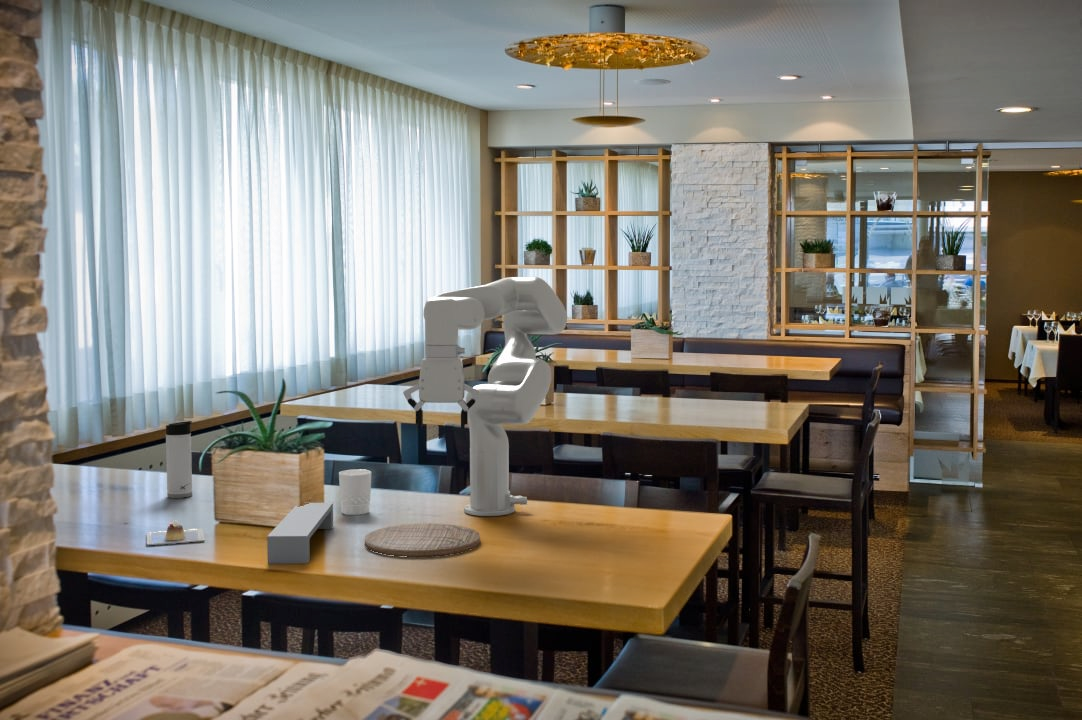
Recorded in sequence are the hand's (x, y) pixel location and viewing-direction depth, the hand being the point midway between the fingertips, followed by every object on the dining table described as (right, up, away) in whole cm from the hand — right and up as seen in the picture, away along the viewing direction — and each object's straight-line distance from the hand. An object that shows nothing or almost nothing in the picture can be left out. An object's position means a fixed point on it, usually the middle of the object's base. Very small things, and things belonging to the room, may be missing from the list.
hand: (441, 427), depth 251 cm
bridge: (-29, -25, -11) cm, 40 cm away
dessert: (-59, -25, -6) cm, 64 cm away
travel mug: (-73, -21, +40) cm, 86 cm away
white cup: (-23, -22, +21) cm, 38 cm away
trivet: (-3, -25, -10) cm, 27 cm away
